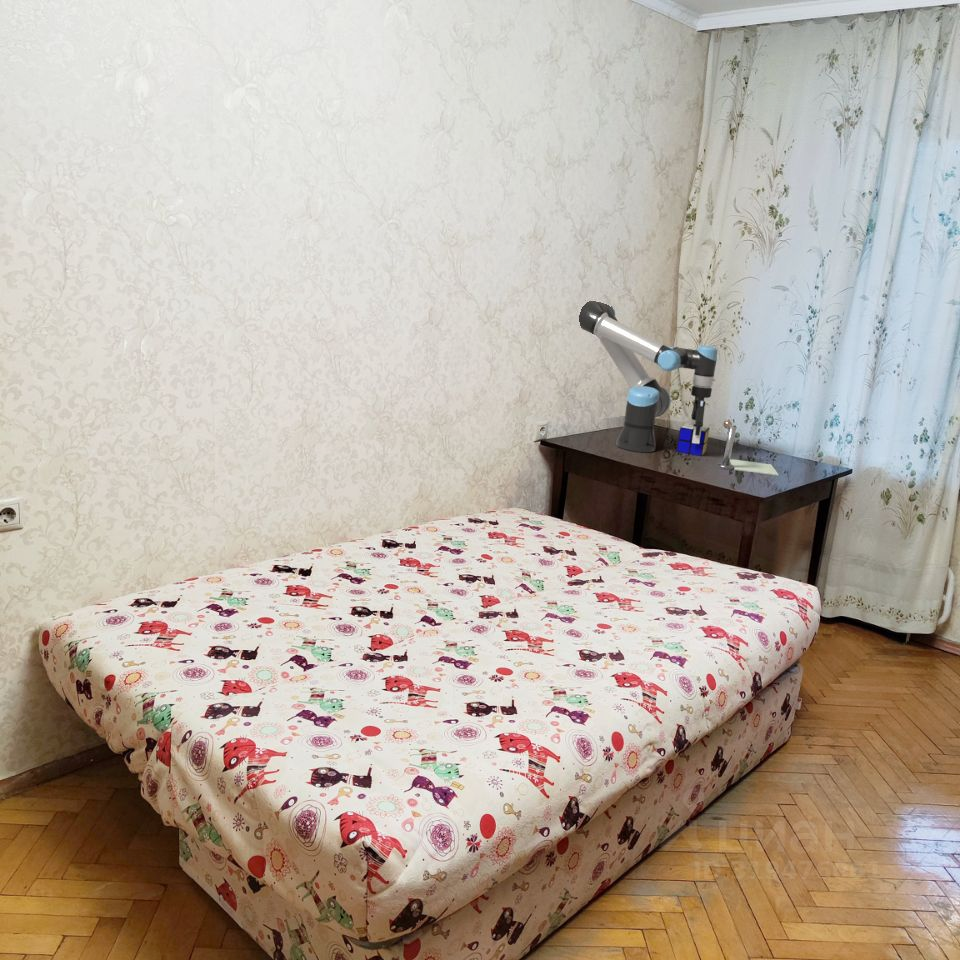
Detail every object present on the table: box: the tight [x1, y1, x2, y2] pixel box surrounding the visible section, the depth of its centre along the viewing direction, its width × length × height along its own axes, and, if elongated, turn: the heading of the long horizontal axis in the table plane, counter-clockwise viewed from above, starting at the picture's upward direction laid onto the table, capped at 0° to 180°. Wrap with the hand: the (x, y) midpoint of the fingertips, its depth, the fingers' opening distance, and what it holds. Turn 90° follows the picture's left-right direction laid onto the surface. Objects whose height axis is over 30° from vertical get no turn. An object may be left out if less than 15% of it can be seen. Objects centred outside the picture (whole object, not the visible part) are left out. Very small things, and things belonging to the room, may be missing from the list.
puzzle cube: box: [676, 423, 711, 457], centre depth 351 cm, size 10×10×10 cm
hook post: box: [716, 419, 737, 471], centre depth 335 cm, size 6×17×16 cm, turn 172°
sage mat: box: [729, 458, 779, 477], centre depth 336 cm, size 16×16×1 cm
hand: (693, 439), depth 351 cm, fingers open, 13 cm apart
